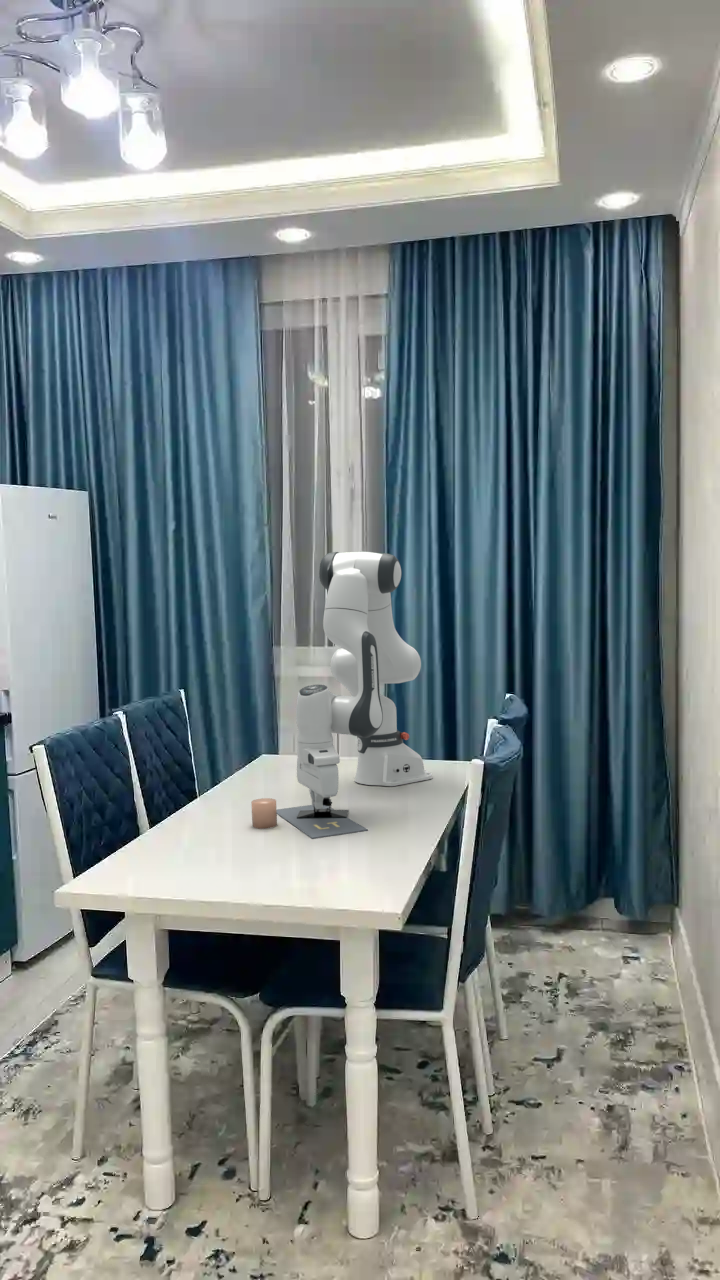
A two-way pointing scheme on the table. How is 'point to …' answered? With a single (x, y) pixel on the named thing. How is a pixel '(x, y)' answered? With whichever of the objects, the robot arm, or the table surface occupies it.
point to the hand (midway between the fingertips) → (317, 807)
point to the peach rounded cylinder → (264, 813)
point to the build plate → (323, 812)
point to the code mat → (319, 823)
